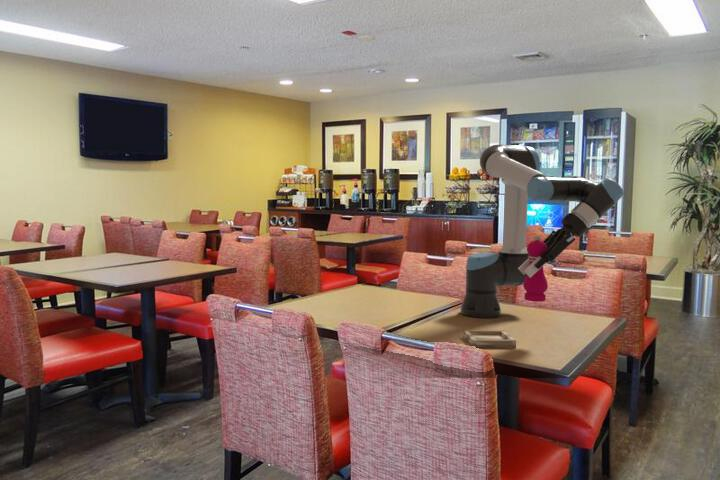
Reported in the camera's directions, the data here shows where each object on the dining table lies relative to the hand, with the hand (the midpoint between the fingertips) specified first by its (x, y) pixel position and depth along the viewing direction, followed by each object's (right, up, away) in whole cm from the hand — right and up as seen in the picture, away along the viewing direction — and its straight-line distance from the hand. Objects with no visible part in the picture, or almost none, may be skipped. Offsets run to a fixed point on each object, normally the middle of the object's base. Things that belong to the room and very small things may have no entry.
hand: (524, 272), depth 175 cm
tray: (-11, -22, +1) cm, 24 cm away
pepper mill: (+4, -9, +1) cm, 9 cm away
